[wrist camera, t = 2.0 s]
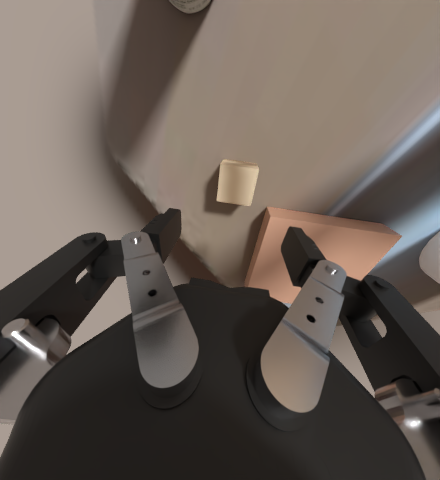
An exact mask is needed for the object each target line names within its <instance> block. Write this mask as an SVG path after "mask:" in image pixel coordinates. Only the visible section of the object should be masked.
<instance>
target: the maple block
mask: <svg viewBox="0 0 440 480" xmlns="http://www.w3.org/2000/svg"><path fill="white" fill-rule="evenodd" d="M258 172H259V168H258V166H257V164H256V163H249V162H242V161H235V160H227V159H223V161H222V162H221V164H220V173H219V183H218V192H217V201H219V202H226V203H232V204H239V205H246V206H251V202H252V198H253V194H254V189H255V185H256V181H257V176H258Z"/></svg>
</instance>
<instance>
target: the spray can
mask: <svg viewBox="0 0 440 480" xmlns="http://www.w3.org/2000/svg"><path fill="white" fill-rule="evenodd" d="M169 1H170V2H171V4H172V5H174V6H175V7H176V8H177V9H179V10H180V11H182V12H185V13H187V14H191V13H195V12H199V11H201V10H203V9H204V8H205V7H206V6H207V5H208V4H209V3H210V2H211V0H169Z"/></svg>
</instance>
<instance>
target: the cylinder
mask: <svg viewBox="0 0 440 480" xmlns="http://www.w3.org/2000/svg"><path fill="white" fill-rule="evenodd" d="M419 265H420V268H421V269H422V270H423V271H424V273H426V274H427V275H428V276H430V277H431V278H432V279H434V280H435V281H436V282H438V283H439V284H440V231H439V232H438V233H437V234H436V235H435V236H434V237H433V238H432V239H430V240H429V242H428V243H427V244H426V246H425V247H424V248H423V250H422V252H421V255H420V257H419Z"/></svg>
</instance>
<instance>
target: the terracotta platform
mask: <svg viewBox="0 0 440 480" xmlns="http://www.w3.org/2000/svg"><path fill="white" fill-rule="evenodd" d="M290 226H292V227H298V228H302V230H303V231H304V233H305V234H306V235H307V236H308V237H310V238H311V239H312V240H313V241H314V242H315V244H316V246H317V247H318V248H319V250H320V251H321V252H322V254H323V255H324V257H325V258H326V260H328V261H331V262H334V263H336V264H338V265H339V266H341V267H342V268H343V269H344V270H345V271H346V274H347V276H349V277H352V278H354V279H357V280H360V281H361V280H362V279H363V278H364V277H365V276H366V275H367V274H368V273H369V272H370V271H371V270H372V268H373V267H374V266H375V265H376V264H377V263H378V262H379V261H380V260H381V259H382V258H383V257H384V255H385V254H386V253H387V252H388V251H389V250H390V249H391V248H392V247H393V246H394V245H395V244H396V242H397V241H398V240H399V239H400V238H401V237H402V236H401V235H400V234H398V233H397V232H395V231H393V230H392V229H390V228H389V227H387V226H386V225H384V224H382V223H375V222H368V221H361V220H354V219H347V218H341V217H334V216H327V215H320V214H313V213H307V212H300V211H293V210H286V209H279V208H273V207H267V208H266V212H265V215H264V219H263V222H262V225H261V229H260V232H259V235H258V239H257V242H256V245H255V249H254V252H253V255H252V259H251V262H250V266H249V269H248V272H247V276H246V279H245V282H244V283H245V287H253V288H260V289H266V290H269V293H270V297H272V298H274V299H276V300H278V301H280V302H284V303H290V304H292V303H293V301H294V300H295V298H296V297H297V295H298V293H299V292H300V290H301V287H296V286H293V285H292V282H291V279H290V276H289V273H288V270H287V268H286V265H285V262H284V259H283V256H282V253H281V244H282V242H283V239H284V237H285V235H286V232H287V230H288V228H289V227H290Z"/></svg>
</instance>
